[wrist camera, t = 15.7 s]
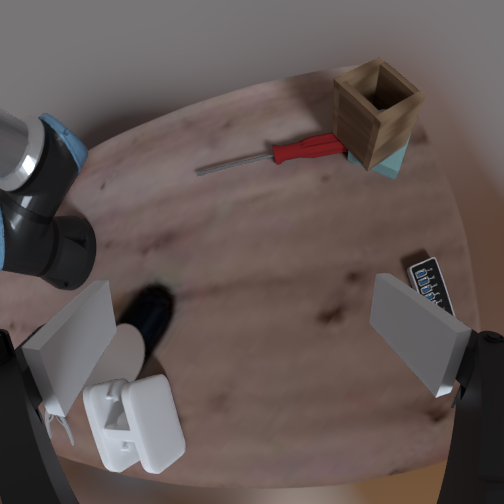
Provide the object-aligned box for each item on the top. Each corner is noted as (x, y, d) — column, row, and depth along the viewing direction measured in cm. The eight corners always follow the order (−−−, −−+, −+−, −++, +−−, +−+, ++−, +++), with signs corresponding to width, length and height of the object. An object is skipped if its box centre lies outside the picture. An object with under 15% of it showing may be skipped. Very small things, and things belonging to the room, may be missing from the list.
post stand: (347, 160, 44) (349, 129, 36) (363, 122, 45) (366, 88, 36) (394, 180, 42) (406, 152, 33) (408, 140, 42) (419, 108, 34)
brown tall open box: (367, 171, 40) (381, 122, 28) (332, 132, 42) (333, 79, 31) (405, 145, 40) (425, 96, 28) (370, 110, 42) (379, 57, 30)
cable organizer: (192, 453, 42) (157, 482, 31) (142, 451, 44) (103, 474, 33) (169, 371, 46) (126, 385, 35) (121, 376, 48) (76, 386, 37)
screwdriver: (200, 169, 51) (191, 161, 47) (346, 137, 45) (346, 125, 42) (201, 188, 50) (192, 180, 47) (351, 155, 45) (352, 144, 41)
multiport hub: (430, 258, 39) (435, 255, 37) (458, 349, 36) (464, 351, 33) (405, 269, 40) (409, 267, 38) (433, 361, 36) (438, 364, 34)
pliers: (46, 438, 49) (33, 379, 52) (51, 437, 50) (37, 379, 54) (71, 446, 47) (56, 383, 50) (76, 444, 48) (61, 382, 51)
